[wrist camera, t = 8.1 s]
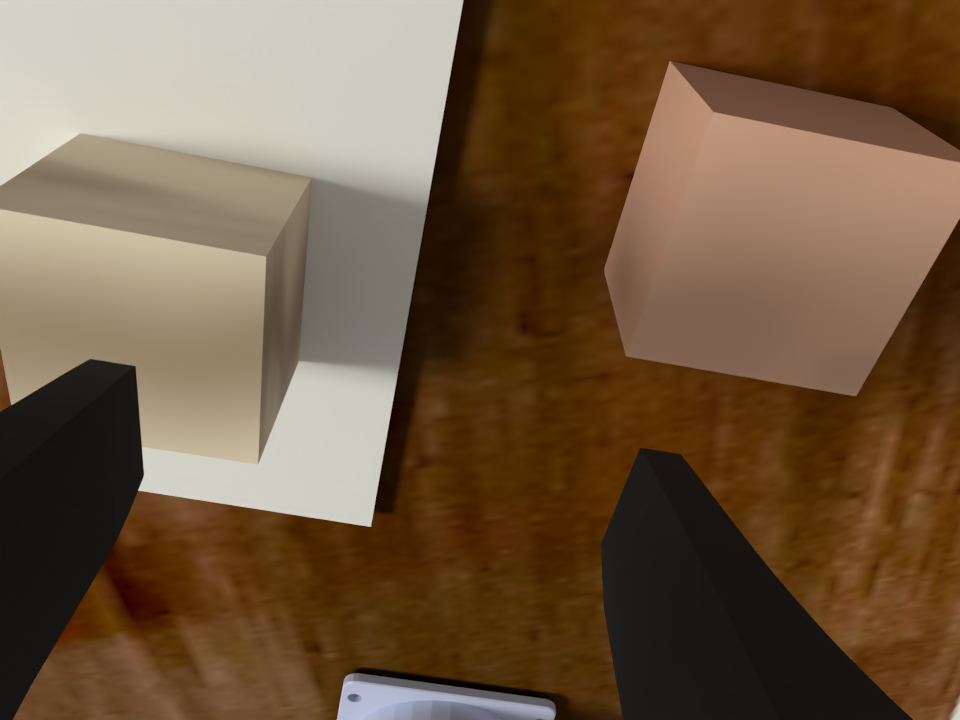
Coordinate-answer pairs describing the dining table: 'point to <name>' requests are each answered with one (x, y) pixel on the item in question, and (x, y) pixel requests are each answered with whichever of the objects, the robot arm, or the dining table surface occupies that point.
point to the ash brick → (158, 285)
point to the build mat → (276, 146)
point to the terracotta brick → (776, 230)
